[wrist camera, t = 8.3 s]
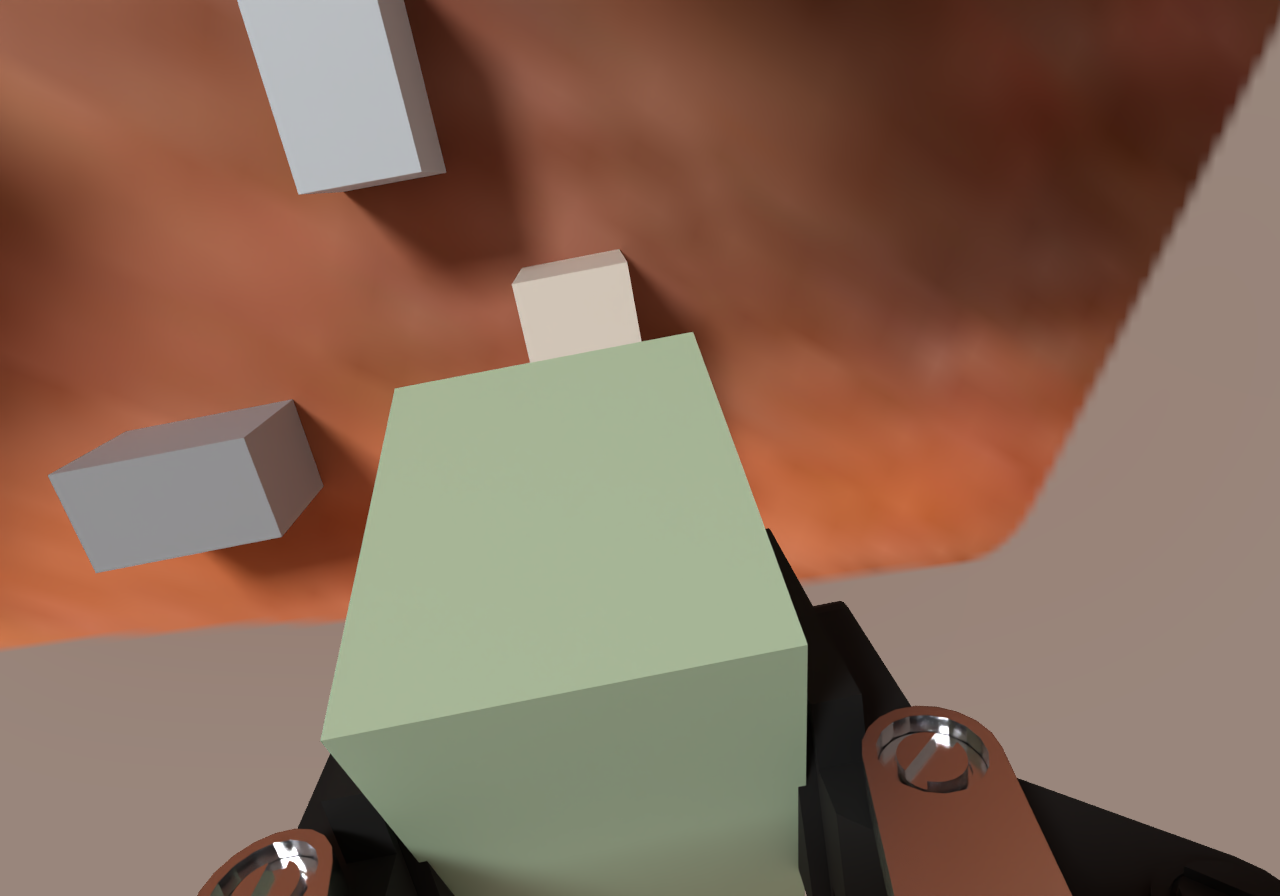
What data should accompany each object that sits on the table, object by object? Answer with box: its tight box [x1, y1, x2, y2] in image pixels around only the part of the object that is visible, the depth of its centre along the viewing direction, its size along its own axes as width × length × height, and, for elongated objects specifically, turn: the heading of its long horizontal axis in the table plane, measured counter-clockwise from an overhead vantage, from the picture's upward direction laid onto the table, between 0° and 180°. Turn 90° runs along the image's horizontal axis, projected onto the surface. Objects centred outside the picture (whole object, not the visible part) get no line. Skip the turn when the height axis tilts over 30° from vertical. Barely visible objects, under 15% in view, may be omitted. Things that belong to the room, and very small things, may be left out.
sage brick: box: [320, 332, 808, 896], centre depth 10 cm, size 7×4×5 cm, turn 10°
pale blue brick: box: [237, 0, 446, 194], centre depth 25 cm, size 7×4×5 cm, turn 10°
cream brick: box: [512, 249, 641, 363], centre depth 29 cm, size 7×4×5 cm, turn 10°
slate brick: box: [48, 399, 323, 573], centre depth 30 cm, size 7×4×5 cm, turn 100°
